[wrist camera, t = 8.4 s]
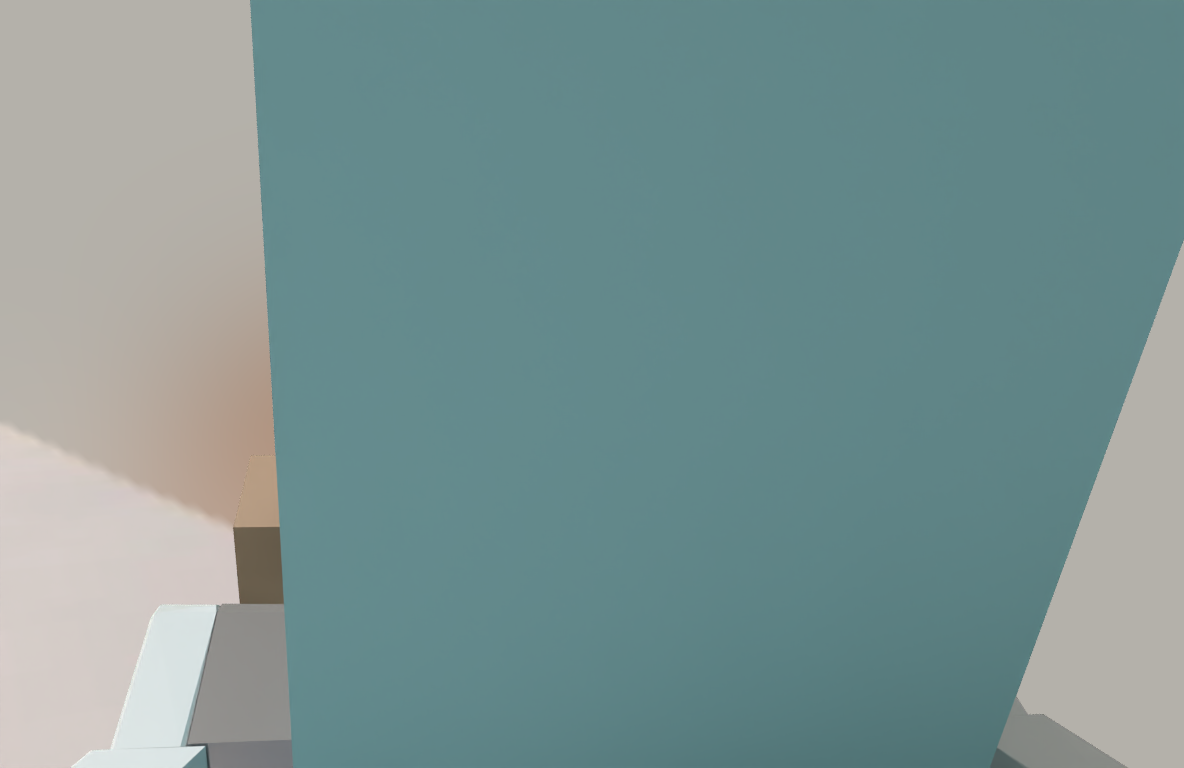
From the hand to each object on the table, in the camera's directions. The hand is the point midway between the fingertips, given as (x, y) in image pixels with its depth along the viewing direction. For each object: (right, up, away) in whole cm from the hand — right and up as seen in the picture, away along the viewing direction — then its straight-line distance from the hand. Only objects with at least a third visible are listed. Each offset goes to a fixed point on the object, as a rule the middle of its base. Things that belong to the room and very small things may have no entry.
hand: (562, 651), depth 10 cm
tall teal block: (-1, -9, +4) cm, 10 cm away
